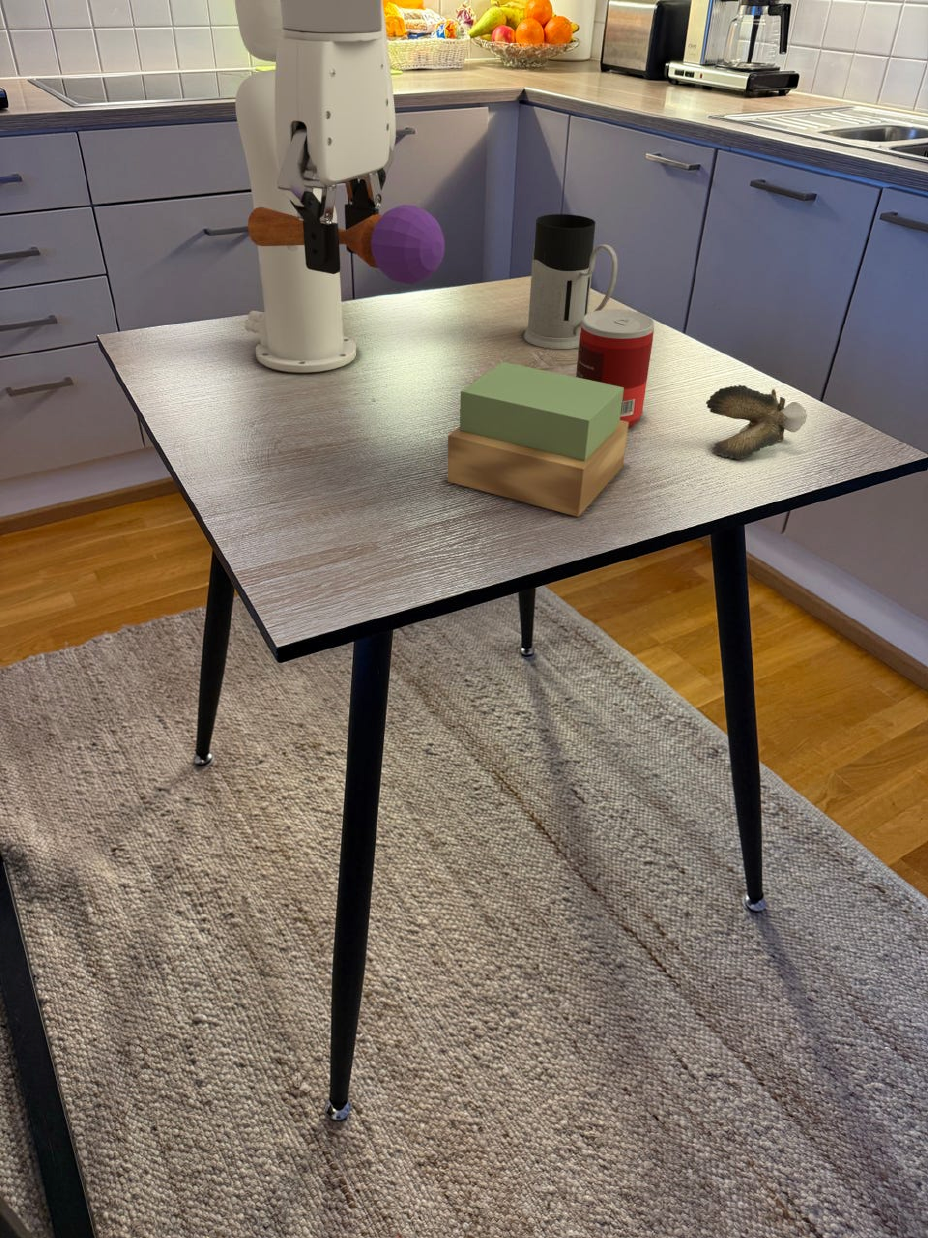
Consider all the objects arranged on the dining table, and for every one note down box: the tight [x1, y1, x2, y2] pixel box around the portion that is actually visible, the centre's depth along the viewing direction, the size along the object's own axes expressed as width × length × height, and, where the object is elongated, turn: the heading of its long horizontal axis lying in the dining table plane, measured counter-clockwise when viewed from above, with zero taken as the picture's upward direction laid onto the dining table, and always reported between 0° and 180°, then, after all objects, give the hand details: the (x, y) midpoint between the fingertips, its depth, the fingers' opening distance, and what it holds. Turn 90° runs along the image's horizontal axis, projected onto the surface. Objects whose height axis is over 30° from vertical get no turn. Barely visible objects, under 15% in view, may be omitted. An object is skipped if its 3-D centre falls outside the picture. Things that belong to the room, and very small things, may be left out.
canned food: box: [575, 308, 655, 428], centre depth 103 cm, size 8×8×11 cm
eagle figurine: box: [705, 384, 808, 459], centre depth 99 cm, size 8×7×9 cm
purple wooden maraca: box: [247, 204, 446, 285], centre depth 80 cm, size 6×6×20 cm
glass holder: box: [523, 213, 619, 350], centre depth 121 cm, size 9×14×15 cm, turn 36°
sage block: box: [459, 361, 624, 461], centre depth 90 cm, size 13×9×4 cm
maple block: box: [446, 420, 629, 518], centre depth 93 cm, size 14×12×5 cm
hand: (343, 260), depth 81 cm, fingers closed on purple wooden maraca, 5 cm apart
